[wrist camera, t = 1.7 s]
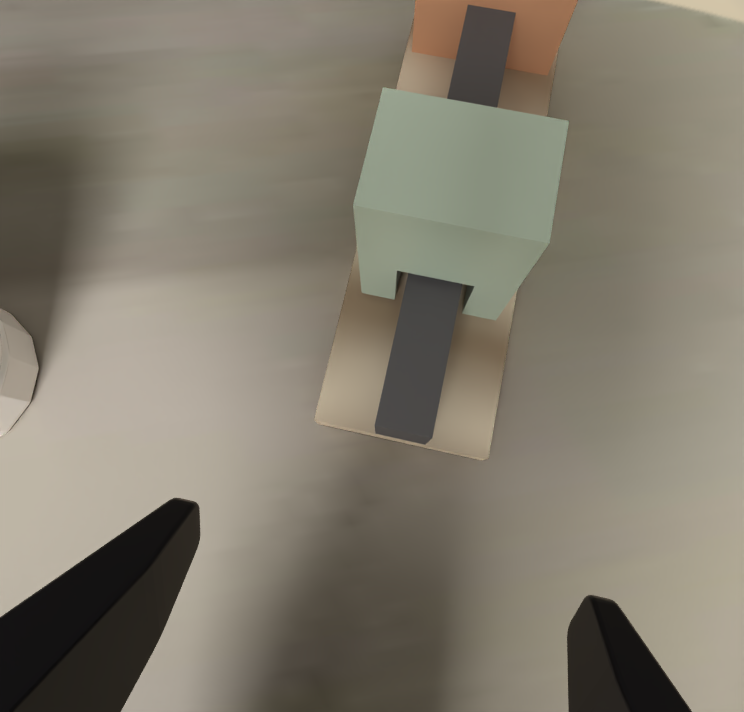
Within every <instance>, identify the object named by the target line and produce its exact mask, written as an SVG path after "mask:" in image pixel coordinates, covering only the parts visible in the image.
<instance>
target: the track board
mask: <svg viewBox="0 0 744 712" xmlns="http://www.w3.org/2000/svg"><path fill="white" fill-rule="evenodd" d="M413 28H414V19H413V23H412V27H411V31H410V35H409V39H408V43H407V47H406V51H405V55H404V59H403V63H402V67H401V71H400V75H399V79H398V83H397V87H396V90H401V91H407V92H412V93H418V94H424V95H429V96H435V97H440V98H446V99H447V97H448V92H449V88H450V83H451V79H452V74H453V70H454V65H455V61H456V60H455V59H449V58H444V57H438V56H432V55H427V54H421V53H415V52H412V42H413ZM558 50H559V48H558ZM557 56H558V51H557V53H556V56H555V58H554V61H553V63H552V66H551V68H550V70H549V73H548V75H547V76H546V75H541V74H535V73H529V72H524V71H518V70H512V69H507V68H505V71H504V76H503V81H502V86H501V91H500V96H499V101H498V106H497V108H501V109H507V110H512V111H518V112H523V113H529V114H535V115H540V116H546V117H547V114H548V108H549V102H550V96H551V91H552V85H553V79H554V73H555V67H556V61H557ZM407 277H408V273H406V272H401V274H400V279H399V283H398V288H397V292H396V297H395V300H394V299H389V298H384V297H379V296H374V295H369V294H365V293H362V291H361V281H360V271H359V261H358V251H357V248H356V252H355V256H354V260H353V264H352V268H351V273H350V277H349V281H348V285H347V289H346V293H345V297H344V301H343V305H342V309H341V313H340V317H339V321H338V325H337V329H336V333H335V337H334V341H333V345H332V349H331V353H330V357H329V361H328V365H327V369H326V373H325V377H324V381H323V385H322V389H321V393H320V397H319V401H318V405H317V409H316V414H315V418H314V420H315V421H316V422H317V423H318V424H320V425H325V426H329V427H334V428H338V429H343V430H347V431H352V432H356V433H361V434H365V435H370V436H374V437H379V438H383V439H387V440H392V441H396V442H401V443H405V444H410V445H414V446H419V447H423V448H428V449H432V450H437V451H441V452H446V453H450V454H454V455H459V456H463V457H468V458H472V459H477V460H481V461H482V460H486V459H488V458H489V452H490V447H491V441H492V435H493V429H494V423H495V417H496V412H497V406H498V400H499V394H500V388H501V382H502V377H503V371H504V365H505V359H506V353H507V347H508V341H509V336H510V330H511V324H512V318H513V312H514V306H515V301H516V295H517V291H516V292H515V294H514V295H513V297H512V298H511V299H510V301H509V302H508V304H507V305H506V307H505V308H504V309H503V311H502V312H501V314H500V315H499V317H498V318H497V320H496V321H495V320H491V319H486V318H481V317H476V316H471V315H466V314H462V310H463V305H464V300H465V295H466V290H467V285H465V284H463V285H462V290H461V295H460V300H459V305H458V310H457V315H456V320H455V325H454V330H453V335H452V341H451V346H450V351H449V356H448V361H447V366H446V371H445V376H444V381H443V386H442V391H441V397H440V402H439V407H438V412H437V417H436V422H435V427H434V432H433V437H432V439H431V440H430V441H429V442H428V443H426V444H425V445H424V444H420V443H415V442H411V441H407V440H402V439H398V438H393V437H389V436H384V435H380V434H375V421H376V416H377V412H378V407H379V403H380V398H381V394H382V389H383V385H384V380H385V376H386V371H387V367H388V362H389V358H390V353H391V349H392V344H393V340H394V335H395V331H396V326H397V322H398V317H399V313H400V308H401V304H402V299H403V295H404V290H405V286H406V281H407Z"/></svg>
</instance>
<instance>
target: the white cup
mask: <svg viewBox="0 0 744 712" xmlns="http://www.w3.org/2000/svg"><path fill="white" fill-rule="evenodd" d="M38 370H39V366H38V362H37V357H36V353H35V348H34V344H33V339H32V337H31V335H30V334H29V333H28V332H27V331H26V330H25V329H24V328H23V327H22V325H21V324H20V323H19V322H18V321H17V320H16V319H15V318H14V317H13V315H12V314H10V313H9V312H7V311H5V310H3V309H1V308H0V437H1V436H2V435H4V434H6V433H7V432H8V431H9V430H10V429H11V427H12V426H13V425H14V424H15V422H16V421H17V420H18V418H19V417H20V416H21V414H22V413H23V412H24V410H25V409H26V408H27V406H28V405H29V404H30V402H31V399H32V395H33V391H34V387H35V383H36V379H37V374H38Z"/></svg>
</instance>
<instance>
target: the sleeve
mask: <svg viewBox="0 0 744 712" xmlns="http://www.w3.org/2000/svg"><path fill="white" fill-rule="evenodd" d="M568 125H569V121H568V120H562V119H557V118H551V117H546V116H540V115H535V114H529V113H523V112H518V111H512V110H507V109H501V108H496V107H490V106H485V105H479V104H474V103H468V102H462V101H457V100H451V99H446V98H440V97H435V96H429V95H424V94H418V93H412V92H407V91H401V90H396V89H390V88H385V87H383V89H382V93H381V97H380V101H379V105H378V109H377V113H376V117H375V121H374V125H373V129H372V133H371V137H370V140H369V144H368V148H367V152H366V156H365V160H364V164H363V168H362V172H361V176H360V180H359V184H358V188H357V191H356V195H355V199H354V203H353V210H354V220H355V230H356V241H357V251H358V261H359V271H360V281H361V291H362V293H365V294H369V295H374V296H379V297H384V298H389V299H394V300H395V297H396V292H397V288H398V283H399V279H400V274H401V272H406V273H411V274H416V275H421V276H426V277H431V278H436V279H441V280H446V281H451V282H455V283H460V284H465V285H467V290H466V295H465V300H464V305H463V310H462V314H466V315H471V316H476V317H481V318H486V319H491V320H495V321H496V320H497V318H498V317H499V315H500V314H501V312H502V311H503V309H504V308H505V307H506V305H507V304H508V302H509V301H510V299H511V298H512V297H513V295H514V294H515V292H516V291H517V289H518V288H519V287H520V285H521V284H522V282H523V281H524V279H525V278H526V276H527V275H528V274H529V272H530V271H531V269H532V268H533V266H534V265H535V264H536V262H537V261H538V259H539V258H540V256H541V255H542V254H543V252H544V251H545V249H546V248H547V246H548V245H549V243H550V237H551V231H552V224H553V218H554V212H555V206H556V199H557V193H558V187H559V181H560V175H561V168H562V162H563V156H564V150H565V143H566V137H567V131H568Z"/></svg>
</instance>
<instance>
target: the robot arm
mask: <svg viewBox="0 0 744 712" xmlns="http://www.w3.org/2000/svg"><path fill="white" fill-rule="evenodd" d="M199 540H200V513H199V505H198V504H197V503H196V502H194V501H190V500H186V499H181V498H173V499H171V500H169V501H168V502H166V503H165V504H163V505H162V506H160V507H159V508H158V509H156V510H155V511H153V512H152V513H150V514H149V515H147V516H146V517H145V518H143V519H142V520H140V521H139V522H137V523H136V524H134V525H133V526H131V527H130V528H129V529H127V530H126V531H124V532H123V533H121V534H120V535H118V536H117V537H116V538H114V539H113V540H111V541H110V542H108V543H107V544H105V545H104V546H103V547H101V548H100V549H98V550H97V551H95V552H94V553H92V554H91V555H89V556H88V557H87V558H85V559H84V560H82V561H81V562H79V563H78V564H76V565H75V566H74V567H72V568H71V569H69V570H68V571H66V572H65V573H63V574H62V575H60V576H59V577H58V578H56V579H55V580H53V581H52V582H50V583H49V584H47V585H46V586H45V587H43V588H42V589H40V590H39V591H37V592H36V593H34V594H33V595H32V596H30V597H29V598H27V599H26V600H24V601H23V602H21V603H20V604H18V605H17V606H16V607H14V608H13V609H11V610H10V611H8V612H7V613H5V614H4V615H3V616H1V617H0V712H121V710H122V708H123V706H124V704H125V703H126V701H127V699H128V697H129V695H130V693H131V692H132V690H133V688H134V686H135V684H136V682H137V680H138V679H139V677H140V675H141V673H142V671H143V669H144V667H145V666H146V664H147V662H148V660H149V658H150V656H151V654H152V653H153V651H154V649H155V647H156V645H157V643H158V641H159V639H160V637H161V635H162V632H163V630H164V628H165V625H166V623H167V621H168V618H169V616H170V613H171V611H172V608H173V606H174V604H175V601H176V599H177V596H178V594H179V592H180V589H181V587H182V584H183V582H184V579H185V577H186V575H187V572H188V570H189V567H190V565H191V562H192V560H193V558H194V555H195V553H196V550H197V548H198V544H199ZM567 653H568V702H569V712H692V711H691V710H690V708H689V707H688V705H687V704H686V702H685V701H684V699H683V698H682V697H681V695H680V694H679V692H678V691H677V689H676V688H675V686H674V685H673V684H672V682H671V681H670V679H669V678H668V676H667V675H666V673H665V672H664V671H663V669H662V668H661V666H660V665H659V663H658V662H657V660H656V659H655V658H654V656H653V655H652V653H651V652H650V650H649V649H648V647H647V646H646V645H645V643H644V642H643V640H642V639H641V637H640V636H639V634H638V633H637V632H636V630H635V629H634V627H633V626H632V624H631V623H630V621H629V620H628V619H627V617H626V616H625V614H624V613H623V611H622V610H621V608H620V607H619V606H618V604H616V603H615V602H614V601H613V600H610V599H607V598H603V597H598V596H594V595H588V596H586V597H585V598H584V600H583V601H582V603H581V605H580V607H579V608H578V610H577V612H576V614H575V615H574V617H573V619H572V620H571V622H570V625H569V628H568V634H567Z"/></svg>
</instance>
